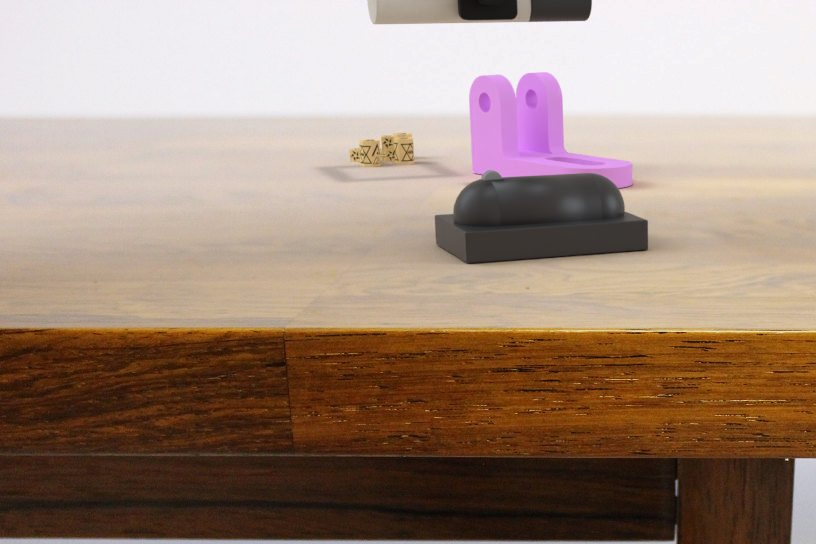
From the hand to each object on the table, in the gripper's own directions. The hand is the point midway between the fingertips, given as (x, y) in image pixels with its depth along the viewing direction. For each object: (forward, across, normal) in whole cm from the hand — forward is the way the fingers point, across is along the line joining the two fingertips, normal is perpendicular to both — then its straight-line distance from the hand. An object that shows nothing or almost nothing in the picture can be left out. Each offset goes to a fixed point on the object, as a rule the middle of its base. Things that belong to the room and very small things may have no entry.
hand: (480, 15), depth 82 cm
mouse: (+12, +8, 0) cm, 14 cm away
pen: (0, 0, 0) cm, 0 cm away
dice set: (+12, -32, +1) cm, 34 cm away
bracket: (+12, -18, +10) cm, 24 cm away
